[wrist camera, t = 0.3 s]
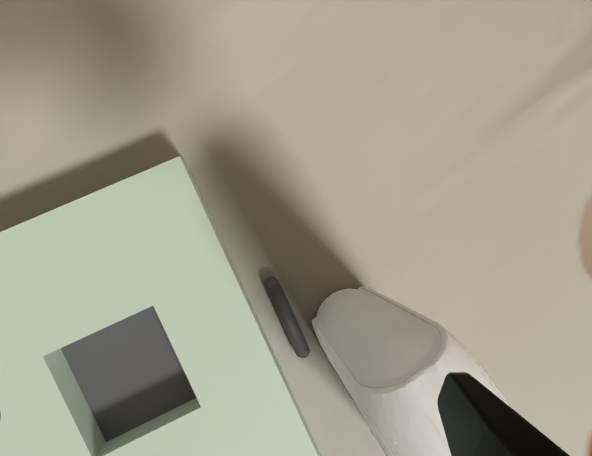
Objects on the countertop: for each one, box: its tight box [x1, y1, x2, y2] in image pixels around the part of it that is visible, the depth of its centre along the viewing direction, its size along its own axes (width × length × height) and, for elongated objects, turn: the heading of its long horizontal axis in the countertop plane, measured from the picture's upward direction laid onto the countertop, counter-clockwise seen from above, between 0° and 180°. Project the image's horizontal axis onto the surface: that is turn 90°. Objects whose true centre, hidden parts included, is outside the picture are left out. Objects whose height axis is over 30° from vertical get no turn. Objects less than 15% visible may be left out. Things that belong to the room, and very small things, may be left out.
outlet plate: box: [0, 156, 321, 456], centre depth 21 cm, size 18×16×2 cm
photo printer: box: [312, 286, 510, 456], centre depth 17 cm, size 10×4×12 cm, turn 33°
